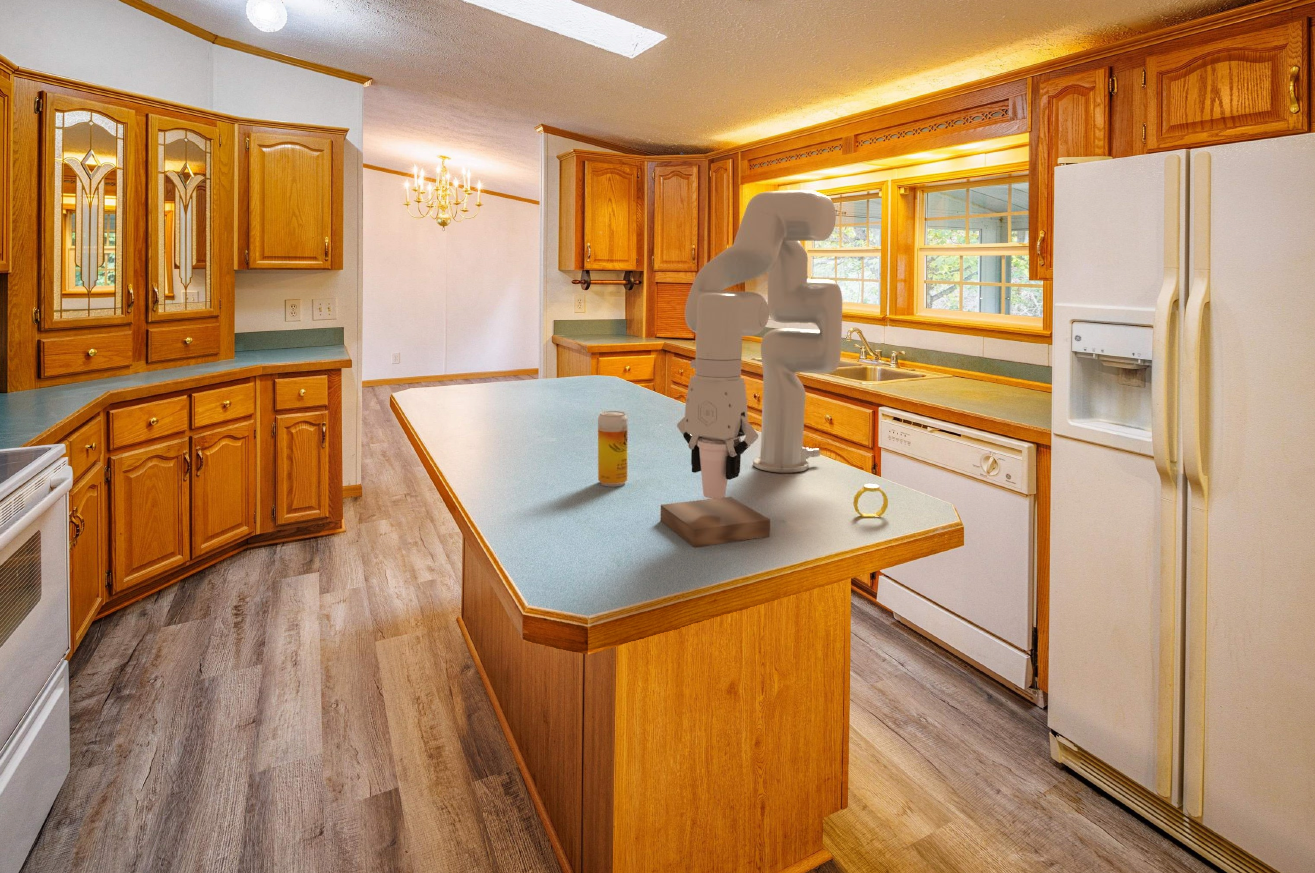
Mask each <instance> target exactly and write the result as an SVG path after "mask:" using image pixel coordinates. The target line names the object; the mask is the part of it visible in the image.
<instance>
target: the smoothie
mask: <svg viewBox="0 0 1315 873" xmlns="http://www.w3.org/2000/svg"><path fill="white" fill-rule="evenodd" d="M697 446H698V447H699V452H700V463H701V471H700V473H701V474H700V475H701V480H702V481H701V484H702V494H703V495H702V496H703V497H704V498H706V499H719V498H724V497H726V492H727V486H728V481H729V480H728V479H726V457H727V456H729V451H728V448H727V444H726V441H725V440H718V439H711V438H705V437H703V438H699V439H698V444H697Z"/></svg>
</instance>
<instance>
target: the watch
mask: <svg viewBox="0 0 1315 873" xmlns="http://www.w3.org/2000/svg"><path fill="white" fill-rule="evenodd" d="M867 492H874V493H875V492H879V493H881V496H882V497H883V499H882V500H883V504H882V506H881V508H880V509H879V510H878V511H877V512H876V513H862V512H860V509H859V506H858V504H859V499H860V498H861V496H862V495H863V494H864V493H867ZM888 506H889V498H888V495H887V494H886V492H885V491H883V490H882V489H880V485H878V484H876V483H875V484H874V483H865V484H864V485H863V487H862V488H861V489H859V490H858V491H857V492H856V493H855V495H854V498H853V507H854V510H855V512H856V513H857V514H858V515H859V516H860V517H861V518H863V517H869V518H876V517H875V516H880V517H881V516H882V515H884V514H885V513H886V511H887V509H888Z"/></svg>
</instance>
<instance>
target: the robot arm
mask: <svg viewBox="0 0 1315 873" xmlns="http://www.w3.org/2000/svg"><path fill="white" fill-rule="evenodd" d="M836 215H837V214H836V208H835V205H834V202H833V200H832V199H831V198H830V197H829V196H828V195H826V194H822V193H820V192H817V191H814V190H805V189H801V190H798V189H797V190H775V191H774V190H773V191H771V190H770V191H763V192H760V193H758V194H756V195H753V197H752V198H751V199H750V200H749V201H748V204H746V207H745V211H744V213H743V216H742V219H741V222H740V224H739V228H738V230H737V232H736V236H735V238H734V240H733V244H732V245H731V246H729V247H728V248H726V249H724V250H723V251H722V252H720V253H718V254H717V255H716V256H714V257H713V258H712V259H711V260H710V261H708V262H707V263H705V265H703V267H701V268H700V270H699V271H698V272H697V273H696V276H695V277H694V280H693V282H692V285H691V288H690V290H689V293H688V296H687V299H686V302H685V308H684V318H685V322H686V325H687V327H688V328H689V329H690V330H691V331H692V332H693V333H695V336H696V338H695V357H694V358H695V359H692V360H690V364H689V365H690V367H691V368H693V369H694V373H695V375H691V376H690V378H689V383H688V387H687V391H686V392H687V393H686V398H685V409H684V416H683V417H682V418H681V420H680V421H678V423H676V427H677V429H678V430H679V432H680V433H681V435H683V437H682V438H684V440H685V442H687V446H688V448H689V449H690V450H691V458H690V461H691V462H690V465H691V473H694V474H696V473H699V472H701V463H700V452H699V447H698V446H697V444H698V439H699V438H703V437H705V438H711V439H718V440H725V441H726V444H727V448H728V451H729V456H727V457H726V479H728V481H729V480H733V479H735V478H738V477H739V475H740V473H741V461H742V460H741V456H742V455H743V454H744V452H745V451H746V450H748V449H749V448H750V447H751V445H752V444H753V443H755V442H756V441H757V440H758V439H759V434H758V432H757V431H756V430H755V429H754V427H753V426H752V425H751V423H750V422H749V421H748V400H747V399H748V396H747V391H746V384H745V379H744V378H742V354H743V353H742V351H743V337H752V336H756V335H759V334H760V333H761V332H762V331H763V330H764V329H765V327H766V325H767V324H768V322H769V318H770V319H771V320H772V321H773V322H777V323H781V324H797V325H815V326H817V328H818V329H804V328H773V329H771V330H770V331H767V332H766V333H765V334H764V335H763V337H762V338H761V342H760V357H761V365H762V366H761V367H762V376H763V377H762V380H763V382H762V386H763V388H762V408H761V409H762V410H761V429H760V431H761V435H760V455H759V456H758V457H755V458H754V459H753V461H752V463H753V464H752V465H753V467H754V468H757V469H758V470H761V471H766V472H771V473H780V474H781V473H782V474H783V473H784V474H786V473H787V474H789V473H790V474H791V473H800V472H804V471H806V470H808V469H809V462H808V459H809V458H816V457H820V455H821V450H820V448H809V447H805V446H804V444H803V443H804V427H805V410H806V409H805V408H806V389H805V387H804V385H803V383H802V381H801V380H800V378H799V377H798V375H797V373H798V374H799V373H804V374H805V373H806V374H819V375H820V374H823V375H824V374H832V373H834V372H835V371H837V369H838V368H839V366H840V363H841V356H842V355H841V354H842V331H843V330H842V329H843V328H842V327H843V295H842V291H841V288H840V285H839V284H838V283H837V282H835V281H833V280H830V279H815V278H814V279H811V278H809V276H808V263H809V259H808V258H809V256H808V253H807V251H806V249H805V247H804V246H803V244H802V243H801V242H804V241H806V242H808V241H809V242H812V241H814V242H815V241H816V242H820V241H821V242H822V241H826V240H827V239H829V238H830V237H831V235H832V234H833V232H834V229H835V225H836V220H837V216H836ZM766 274H767V300H766V299H765V298H764V296H763V295H762V294H759V293H757V292H754V291H737V290H736V291H735V290H734V291H733V290H726V289H728V288H730V287H733V286H736V285H739V284H742V283H745V282H748V281H751V280H753V279H756V278H758V277H761V276H763V275H764V276H765V275H766ZM741 437H742V438H743V437H744V438H743V440H742V438H741Z"/></svg>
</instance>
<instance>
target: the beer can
mask: <svg viewBox="0 0 1315 873" xmlns="http://www.w3.org/2000/svg"><path fill="white" fill-rule="evenodd" d="M628 424H629V423H628V415H627V414H626V412H624V411H619V410H606V411H605V410H604V411H601V412H599V415H598V418H597V458H598V459H597V461H598V462H597V463H598V464H597V466H598V467H597V468H598V469H597V470H598V473H597V474H598V477H597V478H598V481H599V482H600V485H602V486H604V487H610V488H611V487H613V488H614V487H621V486H624V485H625V484H626V482H627V481H628Z"/></svg>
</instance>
